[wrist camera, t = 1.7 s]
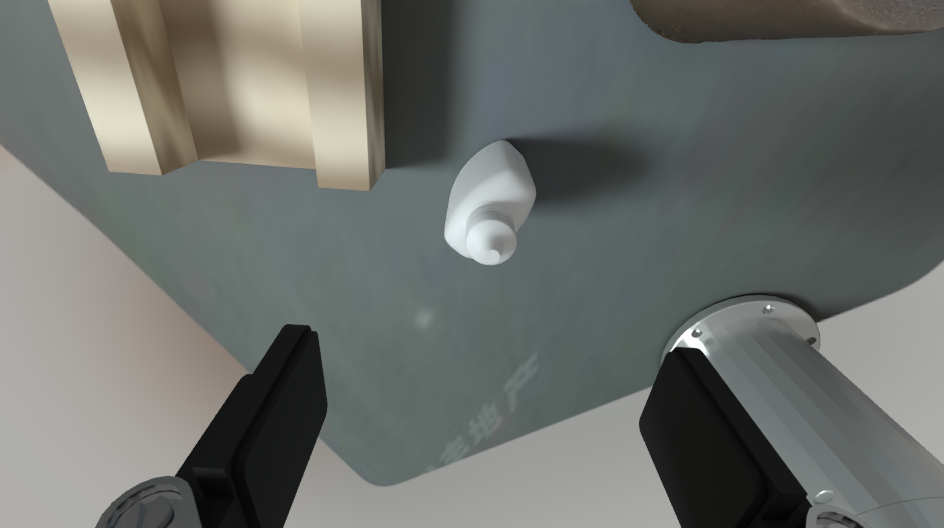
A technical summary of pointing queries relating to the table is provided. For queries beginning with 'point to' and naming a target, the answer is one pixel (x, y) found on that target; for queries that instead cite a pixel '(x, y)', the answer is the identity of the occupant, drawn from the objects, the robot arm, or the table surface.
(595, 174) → the table surface
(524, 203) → the eye dropper bottle
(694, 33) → the pillar candle
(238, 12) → the u rest
